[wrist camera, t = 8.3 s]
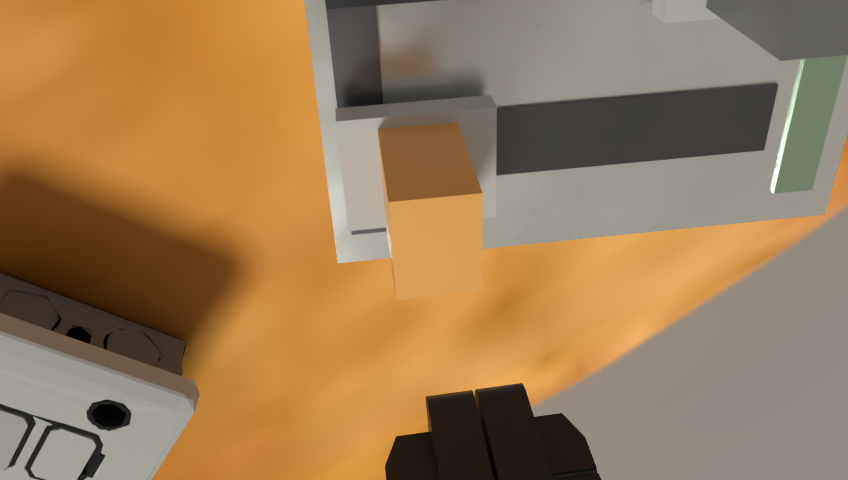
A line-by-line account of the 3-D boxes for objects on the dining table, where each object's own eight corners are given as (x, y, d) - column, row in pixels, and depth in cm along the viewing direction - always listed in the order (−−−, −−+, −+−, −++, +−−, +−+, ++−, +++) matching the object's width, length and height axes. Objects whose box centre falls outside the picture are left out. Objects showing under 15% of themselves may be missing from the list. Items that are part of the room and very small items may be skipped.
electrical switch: (207, 395, 28) (102, 581, 30) (213, 324, 33) (121, 490, 35) (-72, 297, 25) (-167, 515, 27) (-21, 233, 29) (-106, 424, 31)
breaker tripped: (335, 108, 20) (339, 194, 16) (490, 94, 20) (529, 176, 16) (347, 215, 22) (353, 314, 18) (490, 202, 22) (525, 297, 18)
